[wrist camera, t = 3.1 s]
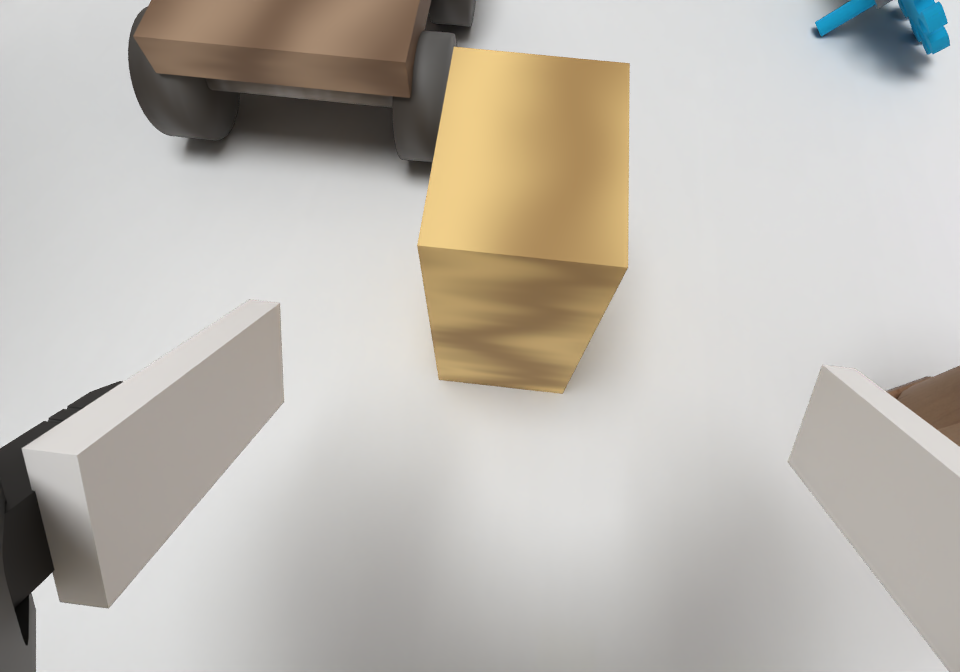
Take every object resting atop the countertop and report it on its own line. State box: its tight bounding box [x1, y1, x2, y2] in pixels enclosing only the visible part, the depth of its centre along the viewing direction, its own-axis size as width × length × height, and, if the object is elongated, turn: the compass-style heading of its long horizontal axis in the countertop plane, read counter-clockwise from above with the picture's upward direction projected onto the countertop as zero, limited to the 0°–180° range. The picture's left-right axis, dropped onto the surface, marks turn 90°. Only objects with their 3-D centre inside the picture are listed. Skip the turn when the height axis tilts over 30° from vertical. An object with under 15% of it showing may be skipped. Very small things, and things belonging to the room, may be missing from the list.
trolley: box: [128, 0, 475, 162], centre depth 31 cm, size 15×17×8 cm
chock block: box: [417, 47, 630, 394], centre depth 23 cm, size 6×8×12 cm
